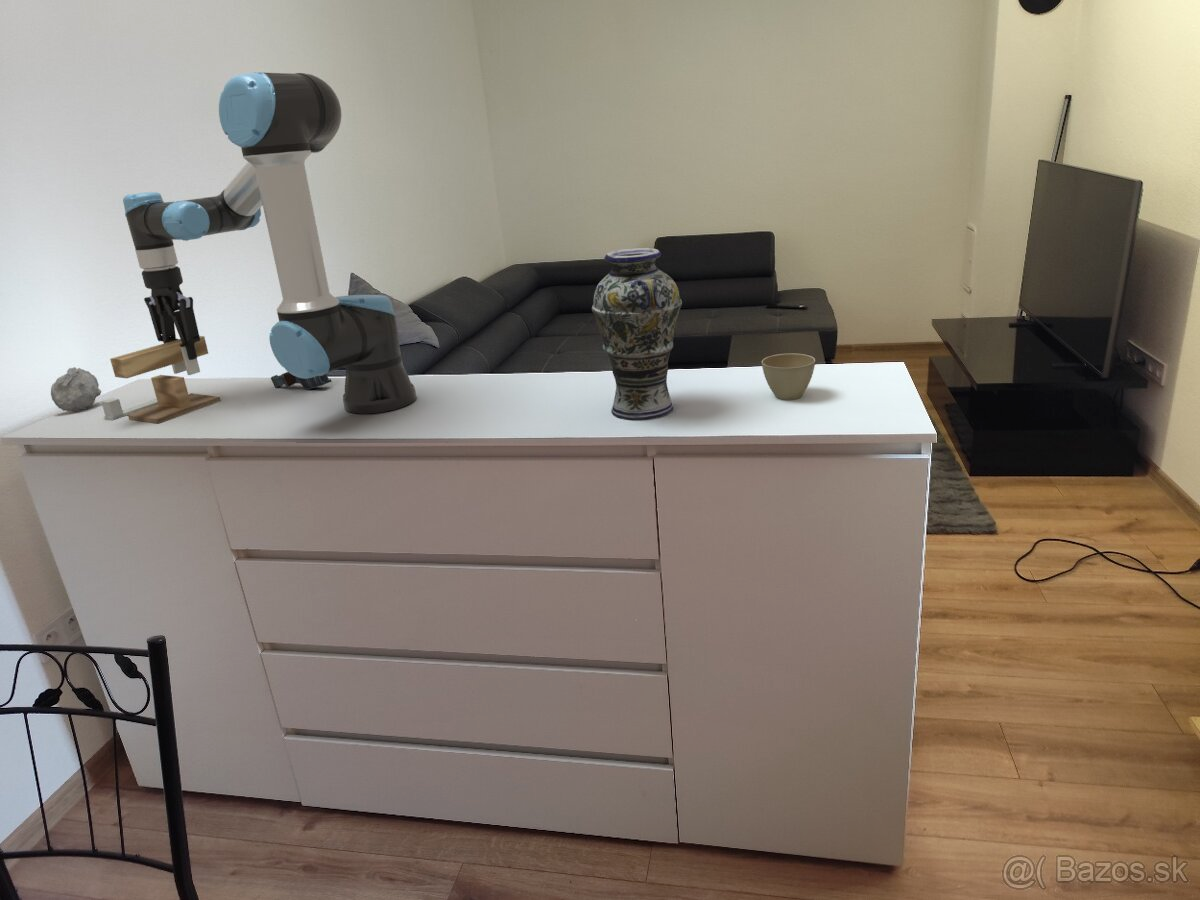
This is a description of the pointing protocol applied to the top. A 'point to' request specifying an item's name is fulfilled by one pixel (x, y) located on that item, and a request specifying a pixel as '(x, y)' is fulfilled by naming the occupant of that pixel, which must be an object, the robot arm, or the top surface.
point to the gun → (299, 380)
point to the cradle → (115, 411)
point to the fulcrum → (172, 400)
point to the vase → (637, 331)
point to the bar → (153, 358)
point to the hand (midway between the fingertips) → (187, 372)
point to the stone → (75, 390)
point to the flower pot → (788, 374)
